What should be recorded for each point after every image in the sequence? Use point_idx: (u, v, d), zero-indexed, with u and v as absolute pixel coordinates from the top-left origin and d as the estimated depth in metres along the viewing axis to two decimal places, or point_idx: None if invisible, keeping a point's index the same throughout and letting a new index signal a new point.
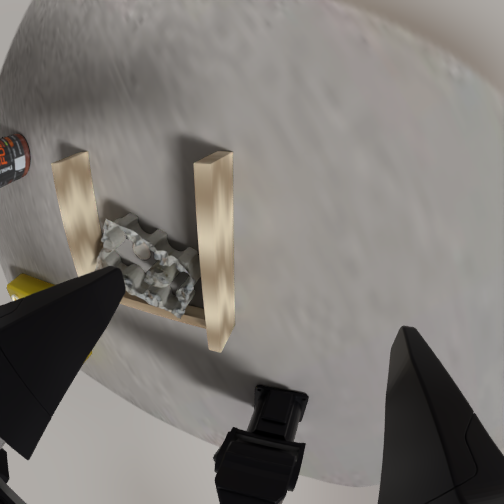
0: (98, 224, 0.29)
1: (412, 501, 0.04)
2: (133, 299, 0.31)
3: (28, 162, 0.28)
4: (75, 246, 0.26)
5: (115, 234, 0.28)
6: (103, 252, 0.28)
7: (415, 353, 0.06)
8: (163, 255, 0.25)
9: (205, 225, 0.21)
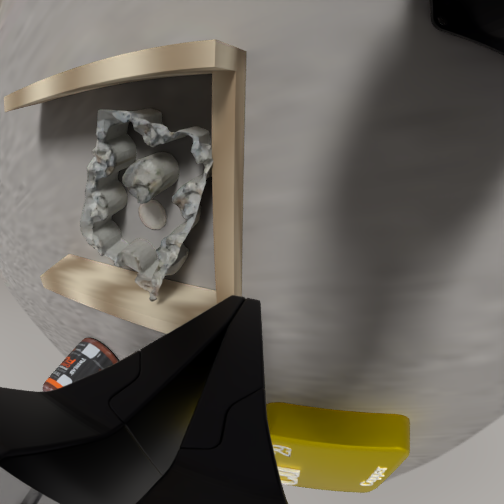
0: (130, 272, 0.22)
1: None
2: None
3: (99, 344, 0.29)
4: (108, 303, 0.19)
5: (126, 247, 0.20)
6: (142, 274, 0.20)
7: (238, 322, 0.07)
8: (95, 159, 0.15)
9: (32, 92, 0.13)
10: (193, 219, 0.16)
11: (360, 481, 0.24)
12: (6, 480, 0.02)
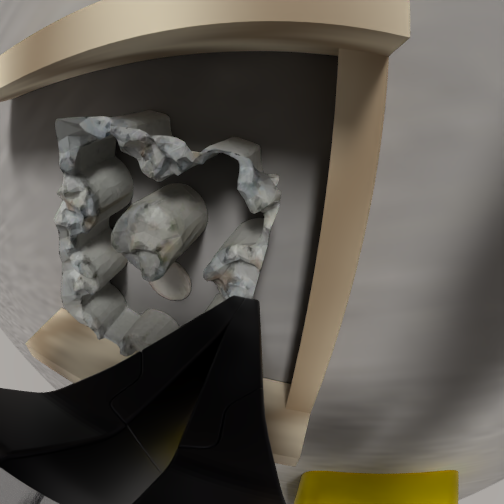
0: None
1: None
2: (298, 355, 0.11)
3: None
4: None
5: (134, 324, 0.13)
6: None
7: (237, 321, 0.07)
8: (65, 205, 0.09)
9: None
10: None
11: None
12: (7, 481, 0.02)
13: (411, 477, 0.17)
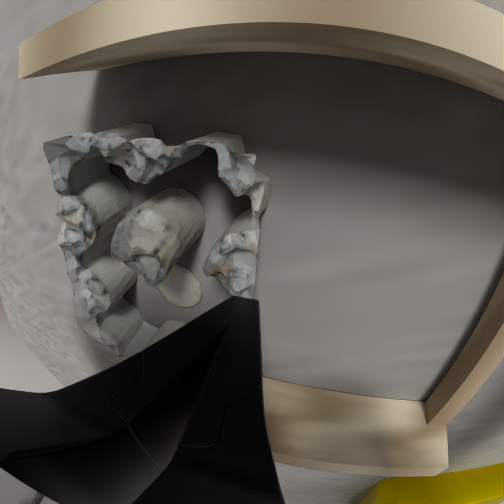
0: (279, 384, 0.14)
1: None
2: (466, 376, 0.09)
3: None
4: (273, 453, 0.11)
5: (152, 337, 0.14)
6: None
7: (237, 321, 0.07)
8: (66, 225, 0.09)
9: (123, 15, 0.04)
10: (249, 296, 0.09)
11: None
12: (7, 482, 0.02)
13: (475, 472, 0.15)
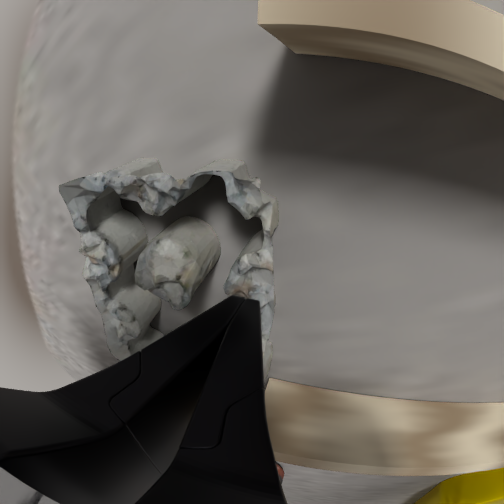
0: (414, 403, 0.12)
1: None
2: None
3: None
4: (426, 468, 0.09)
5: None
6: None
7: (238, 322, 0.07)
8: (89, 260, 0.10)
9: (502, 40, 0.03)
10: (271, 310, 0.10)
11: None
12: (6, 481, 0.02)
13: None
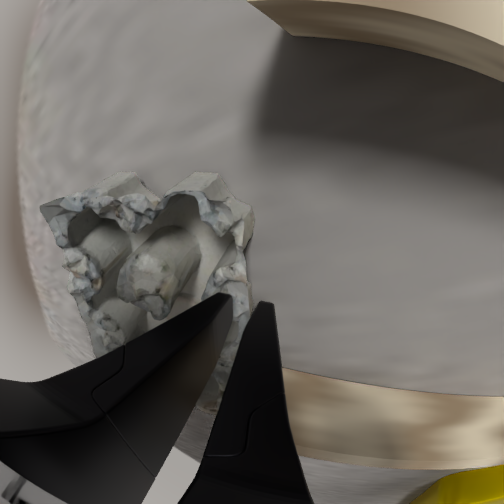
0: (416, 394, 0.12)
1: None
2: None
3: None
4: (426, 461, 0.09)
5: None
6: (202, 393, 0.14)
7: (253, 325, 0.07)
8: (73, 274, 0.10)
9: (491, 11, 0.02)
10: (247, 319, 0.10)
11: None
12: None
13: None
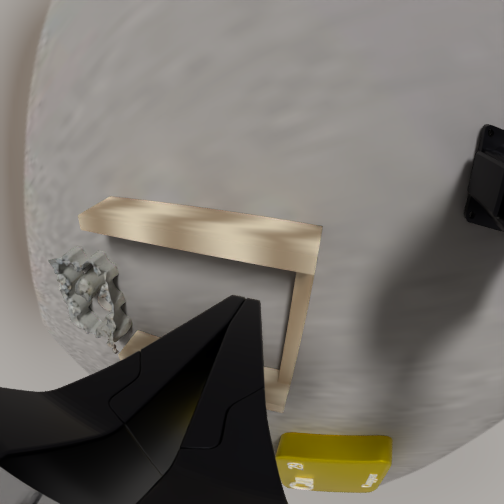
0: None
1: None
2: None
3: None
4: None
5: (100, 324, 0.31)
6: None
7: (238, 322, 0.07)
8: (60, 283, 0.27)
9: (122, 230, 0.19)
10: (113, 304, 0.26)
11: (361, 484, 0.31)
12: (6, 480, 0.02)
13: (352, 438, 0.30)
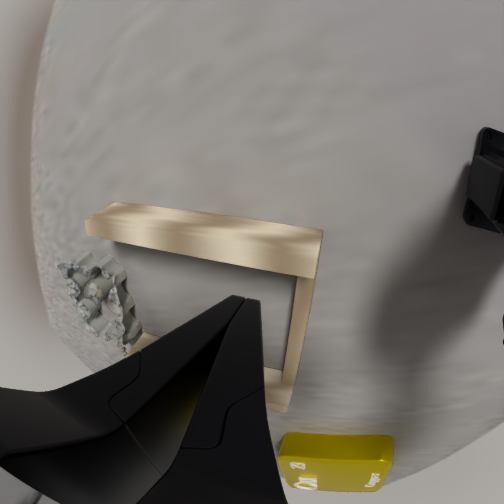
0: None
1: None
2: (286, 356, 0.25)
3: None
4: None
5: (109, 328, 0.32)
6: None
7: (238, 322, 0.07)
8: (70, 288, 0.28)
9: (127, 235, 0.20)
10: (121, 307, 0.27)
11: (364, 483, 0.31)
12: (6, 480, 0.02)
13: (353, 438, 0.31)
